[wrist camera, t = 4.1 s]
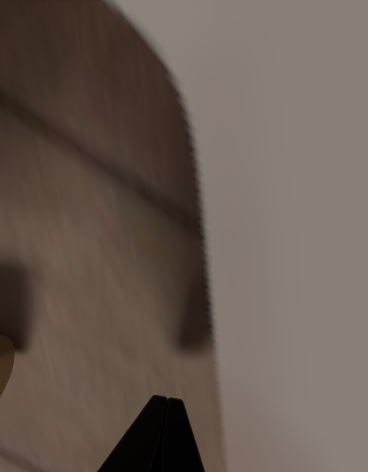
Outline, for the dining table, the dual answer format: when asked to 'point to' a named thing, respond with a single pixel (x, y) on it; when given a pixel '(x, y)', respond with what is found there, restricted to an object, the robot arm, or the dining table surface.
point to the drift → (5, 361)
